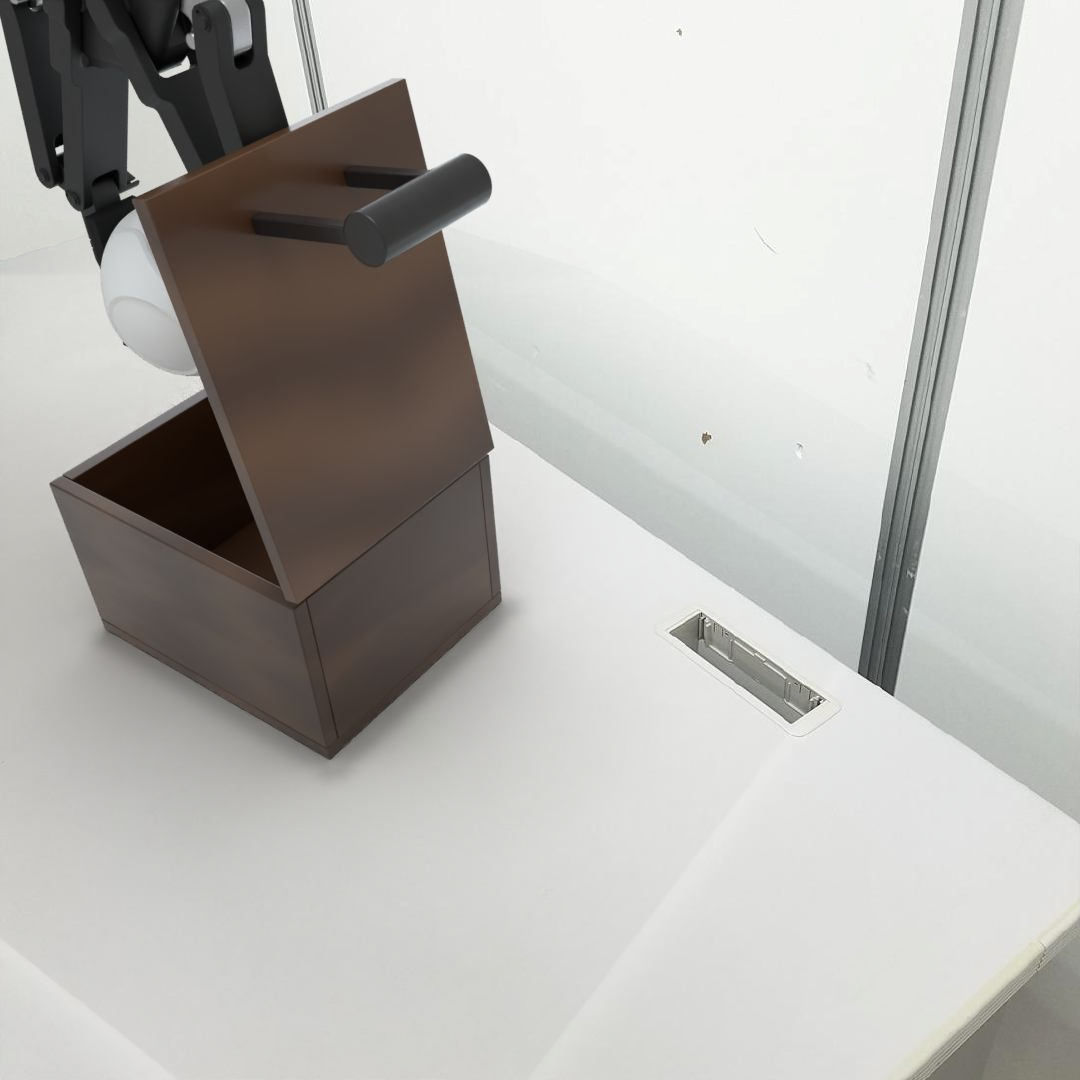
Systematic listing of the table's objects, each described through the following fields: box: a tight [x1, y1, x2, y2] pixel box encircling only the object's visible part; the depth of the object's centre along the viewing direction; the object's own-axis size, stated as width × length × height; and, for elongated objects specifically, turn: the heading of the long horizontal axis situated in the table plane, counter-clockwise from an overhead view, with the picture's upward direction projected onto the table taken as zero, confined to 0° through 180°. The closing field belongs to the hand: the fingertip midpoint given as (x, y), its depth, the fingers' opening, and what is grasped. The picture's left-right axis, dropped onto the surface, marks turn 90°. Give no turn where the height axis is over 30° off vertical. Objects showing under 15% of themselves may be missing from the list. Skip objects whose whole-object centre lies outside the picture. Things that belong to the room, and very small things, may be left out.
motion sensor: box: [99, 209, 200, 377], centre depth 56 cm, size 8×8×8 cm
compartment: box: [48, 388, 503, 760], centre depth 64 cm, size 17×14×10 cm
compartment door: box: [132, 77, 495, 604], centre depth 50 cm, size 18×14×8 cm
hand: (211, 359), depth 58 cm, fingers closed on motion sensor, 8 cm apart
